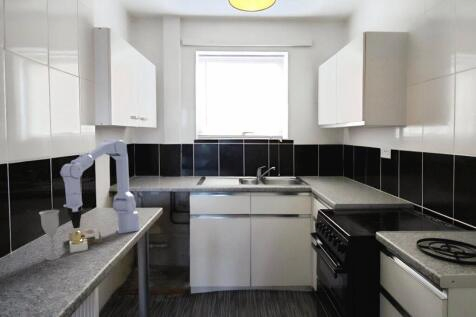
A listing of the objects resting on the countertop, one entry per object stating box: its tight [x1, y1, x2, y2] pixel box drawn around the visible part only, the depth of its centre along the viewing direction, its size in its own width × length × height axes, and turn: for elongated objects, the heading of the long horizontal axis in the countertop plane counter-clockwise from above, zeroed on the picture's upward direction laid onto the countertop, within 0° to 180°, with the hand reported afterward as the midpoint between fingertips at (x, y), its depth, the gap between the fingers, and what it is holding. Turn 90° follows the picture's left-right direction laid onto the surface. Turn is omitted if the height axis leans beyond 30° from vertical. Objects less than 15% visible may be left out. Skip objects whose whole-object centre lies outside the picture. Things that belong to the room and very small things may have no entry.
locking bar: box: [85, 227, 99, 239], centre depth 155 cm, size 5×11×2 cm, turn 26°
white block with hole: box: [69, 239, 89, 253], centre depth 149 cm, size 6×6×3 cm
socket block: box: [68, 228, 102, 246], centre depth 160 cm, size 12×13×3 cm
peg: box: [71, 230, 84, 244], centre depth 149 cm, size 5×5×7 cm
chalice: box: [38, 209, 62, 261], centre depth 139 cm, size 7×7×18 cm
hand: (76, 225), depth 148 cm, fingers open, 7 cm apart
